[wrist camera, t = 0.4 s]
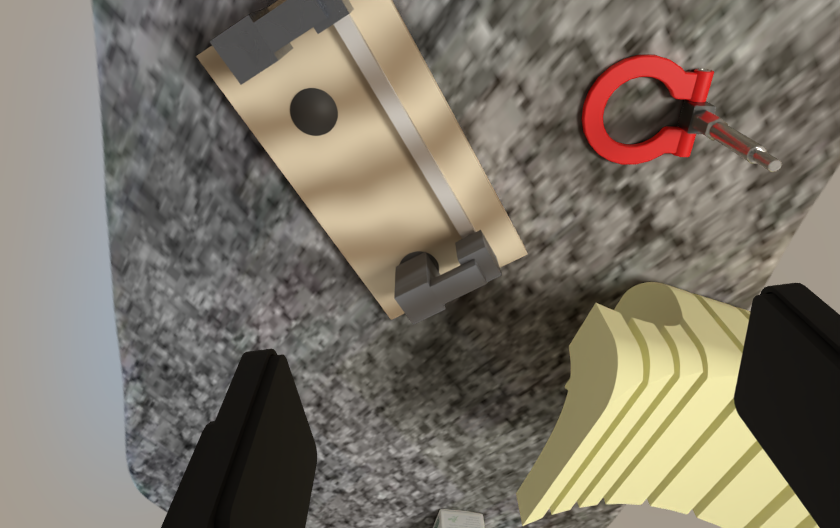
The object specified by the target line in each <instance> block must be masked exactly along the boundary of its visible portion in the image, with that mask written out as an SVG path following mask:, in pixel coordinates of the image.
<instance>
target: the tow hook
mask: <svg viewBox="0 0 840 528" xmlns="http://www.w3.org/2000/svg"><path fill="white" fill-rule="evenodd" d="M713 74H714V71H712V70H709V69H695V70H694V72H685V71H684V70H683V69H682V68H681V67H680V66H678V65H677V64H676V63H674V62H673V61H671V60H669V59H667V58H663V57H660V56H657V55H636V56H633V57H629V58H625V59H623V60H621V61H619V62H617V63H616V64H614V65H612V66H610V67H609V68H608V69H607V70H606V71H605V72H604V73H602V74H601V75H600V76H599V77H598V78H597V80H596V81H595V83H594V84H593V85H592V87H591V88H590V90H589V92H588V94H587V97H586V99H585V102H584V105H583V112H582V125H583V132H584V134H585V136H586V138H587V140H588V143H589V144H590V145H591V146H592V147H593V149H594V150H595V151H596V152H597V153H598V154H599V155H600V156H602V157H604V158H605V159H607V160H609V161H611V162H615V163H619V164H639V163H643V162H647V161H650V160H652V159H654V158H657V157H659V156H661V155H663V154H664V153H672V154H673V155H675V156H679V157H689V156H690V153H691V150H692V147H693V143H694V140H695V136H696V134H703V135H705V136H706V137H708V138H709V139H711V140H713V141H714V140H716V141H718V142H719V143H721V144H722V145H724V146H725V147H727V148H728V149H730V150H731V151H733V152H735V153H736V154H738V155H739V156H741V157H742V158H744V159H745V160H747V161H748V162H750V163H752V164H756V163H758V164H759V165H761V166H763V167H764V168H766V169H767V170H769V171H770V172H775V171H778V170H779V169H780V168H781V165H782V163H781V161H780V160H778V159H777V158H775V157H773V156H772V155H770V154H768V153H767V150H766V148H765V147H764V146H762V145H760V144H759V143H757V142H755V141H753V140H752V139H750V138H748V137H747V136H745V135H743V134H741V133H740V132H738V131H736V130H735V129H733V128H731V127H729V126H728V124H727V123H726V122H725V121H724V120H722V119H721V118H719V117H718V116H716V115H714V113H715V110H716V107H715V106H713V105H712V104H710V103H708V102H706V98H707V95H708V91H709V88H710V85H711V81H712V78H713ZM638 77H653V78H656V79H659V80H660V81H662V82H663V83H664V84H665V86H666V87H667V88H668V90H669V92H670V95H671V96H672V97H674V98H675V99H685V100H684V103H683V107H682V110H681V114H680V118H679V121H678V127H669V126H665V127H664V128H662V129H661V130H660V132H658V133H657V134H656V135H655V136H653V137H652V138H651V139H649V140H647V141H645V142H642V143H638V144H622V143H618V142H616V141H614V140H613V139H611V138H610V137H609V136H608V134H607V133H606V130H605V128H604V124H603V113H604V108H605V105H606V103H607V100H608V99H609V97H610V96H611V94H612V93H613V92H614V91H615V90H616V89H617V88H618V87H619V86H620V85H621V84H623V83H625V82H627V81H629V80H631V79H634V78H638Z"/></svg>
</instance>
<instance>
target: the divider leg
mask: <svg viewBox="0 0 840 528" xmlns="http://www.w3.org/2000/svg"><path fill="white" fill-rule="evenodd" d="M353 10H354V8H353V7H352V5H351V3H350V1H349V0H286V1H285V2H283V3H282V4H280V5H279V6H278V7H276V8H275V9H273V10H272V11H269V10H268V8H264V9H262V10H259V11H257V12H254V13H252V14H249V15H248V16H246V17H245V18H243V19H242V20H240V21H239V22H237V23H236V24H234V25H233V26H231V27H230V28H229V29H227V30H226V31H224V32H223V33H221V34H220V35H218V36H217V37H215V38H214V39H213V40H211V41H210V43H211V44H212V46H213V47H214V48H215V50H216V51H217V53H218V54H219V55H220V57H221V58H222V60H223V61H224V62H225V64H226V65H227V67H228V68H229V69H230V71H231V72H232V73H233V75H234V76H235V78H236V79H237V80H238V82H239V83H240V85H242V84H243V83H245V82H246V81H248V80H249V79H251V78H253V77H254V76H256V75H257V74H259V73H260V72H262V71H263V70H265V69H266V68H268V67H269V66H271V65H273V64H274V63H276V62H277V61H279V60H280V59H281V58H282V57H283V56H285V55H286V54H287V53H288V52H289V51H291V50H292V49H293V47H292V45H291V43H290V42H292V41H293V40H295V39H296V38H298V37H299V36H301V35H302V34H304V33H305V32H307V31H308V30H310V29H311V28H313V27H314V29H315V31H316V32H317V34H319V33H321V32H322V31H324V30H325V29H327V28H328V27H330V26H332V25H333V24H335V23H336V22H338V21H339V20H341V19H342V18H344V17H345V16H347V15H348V14H350V13H351V12H352V11H353Z"/></svg>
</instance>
